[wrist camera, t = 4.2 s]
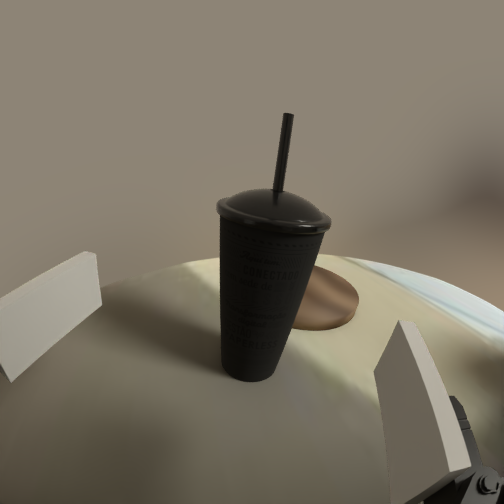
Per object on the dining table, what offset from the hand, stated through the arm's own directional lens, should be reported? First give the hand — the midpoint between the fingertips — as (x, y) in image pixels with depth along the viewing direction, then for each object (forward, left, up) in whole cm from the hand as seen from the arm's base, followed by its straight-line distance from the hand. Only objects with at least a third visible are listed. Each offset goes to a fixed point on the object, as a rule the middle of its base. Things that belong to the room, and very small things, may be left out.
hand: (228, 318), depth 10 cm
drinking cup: (-7, -6, -11) cm, 14 cm away
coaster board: (-20, -14, -11) cm, 27 cm away
